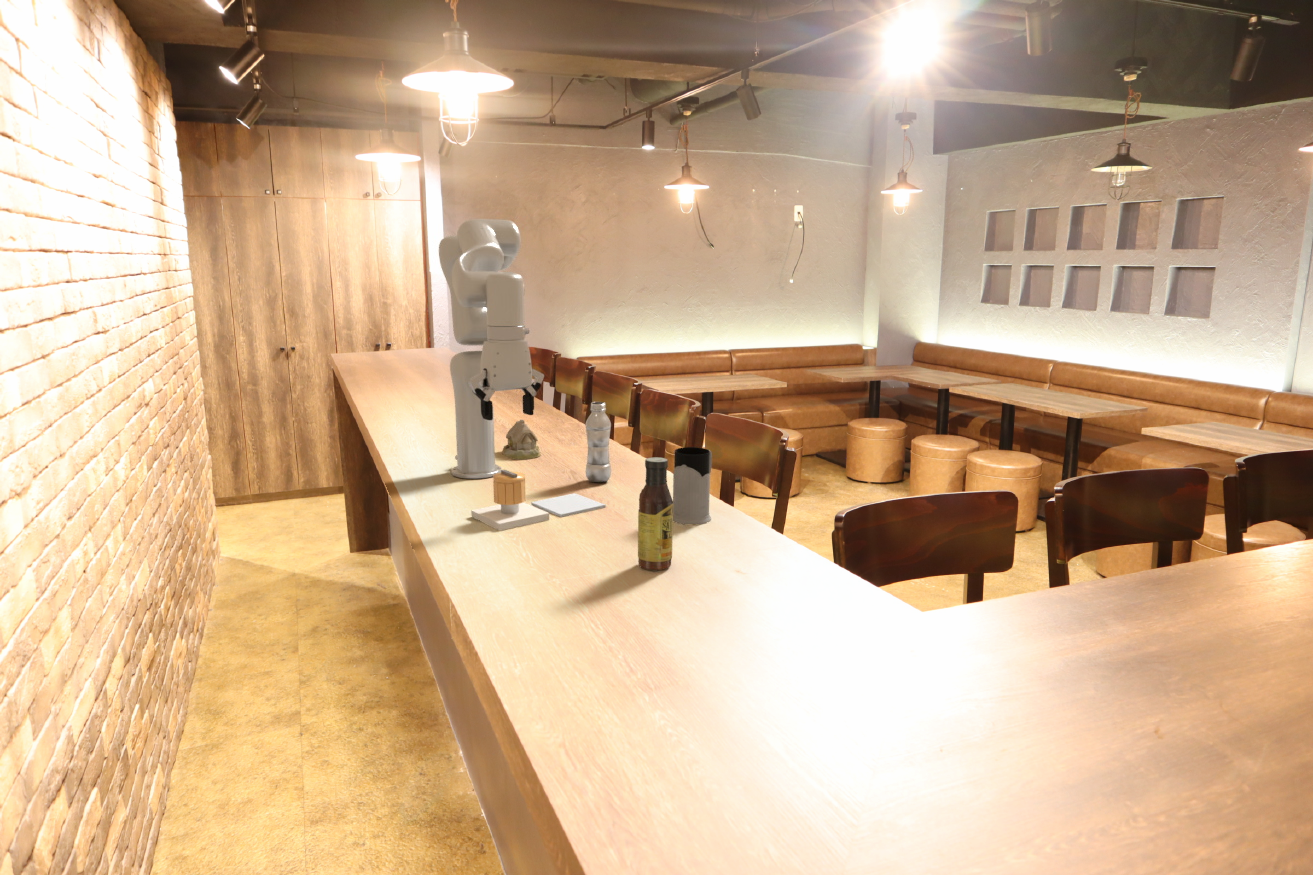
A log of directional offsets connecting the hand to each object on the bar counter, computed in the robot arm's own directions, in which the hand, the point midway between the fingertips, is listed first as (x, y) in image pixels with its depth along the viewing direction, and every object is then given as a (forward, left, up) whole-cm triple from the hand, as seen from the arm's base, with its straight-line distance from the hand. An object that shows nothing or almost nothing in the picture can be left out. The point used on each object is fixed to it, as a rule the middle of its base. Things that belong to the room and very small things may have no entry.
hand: (508, 416), depth 173 cm
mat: (0, +15, -22) cm, 27 cm away
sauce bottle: (+41, +6, -22) cm, 47 cm away
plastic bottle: (-13, +33, -22) cm, 42 cm away
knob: (0, 0, -18) cm, 18 cm away
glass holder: (+23, +33, -22) cm, 46 cm away
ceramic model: (-51, +34, -23) cm, 66 cm away
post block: (0, 0, -22) cm, 22 cm away
